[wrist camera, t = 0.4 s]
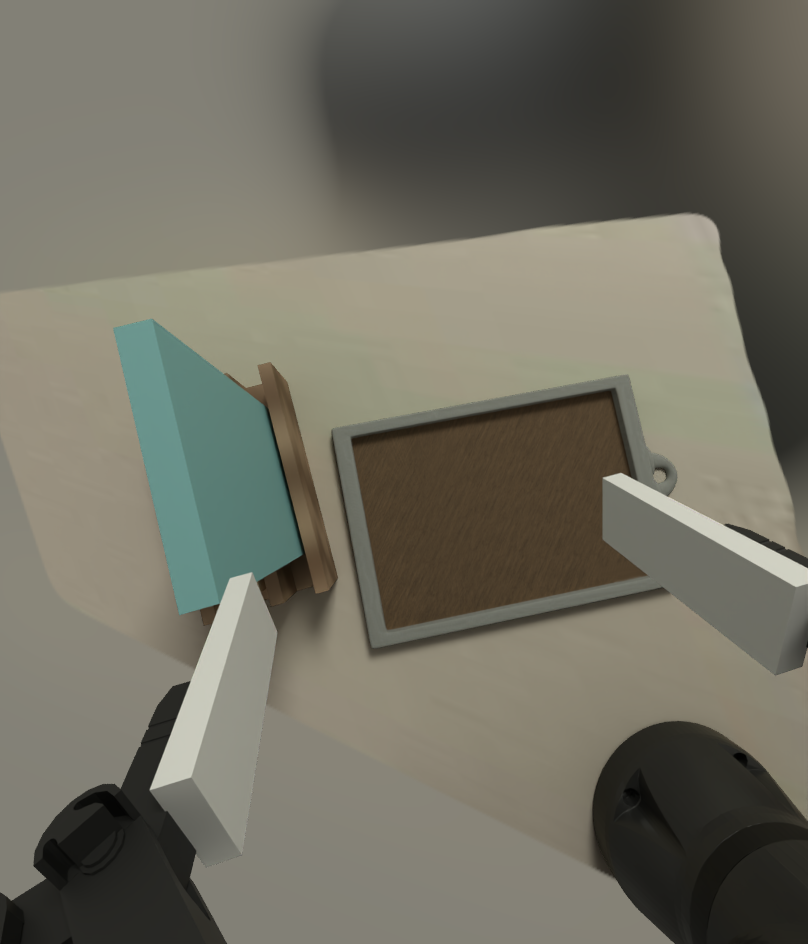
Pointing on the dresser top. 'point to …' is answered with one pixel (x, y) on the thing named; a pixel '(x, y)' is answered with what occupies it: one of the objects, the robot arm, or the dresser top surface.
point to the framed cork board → (491, 508)
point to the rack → (318, 557)
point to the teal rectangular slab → (206, 467)
